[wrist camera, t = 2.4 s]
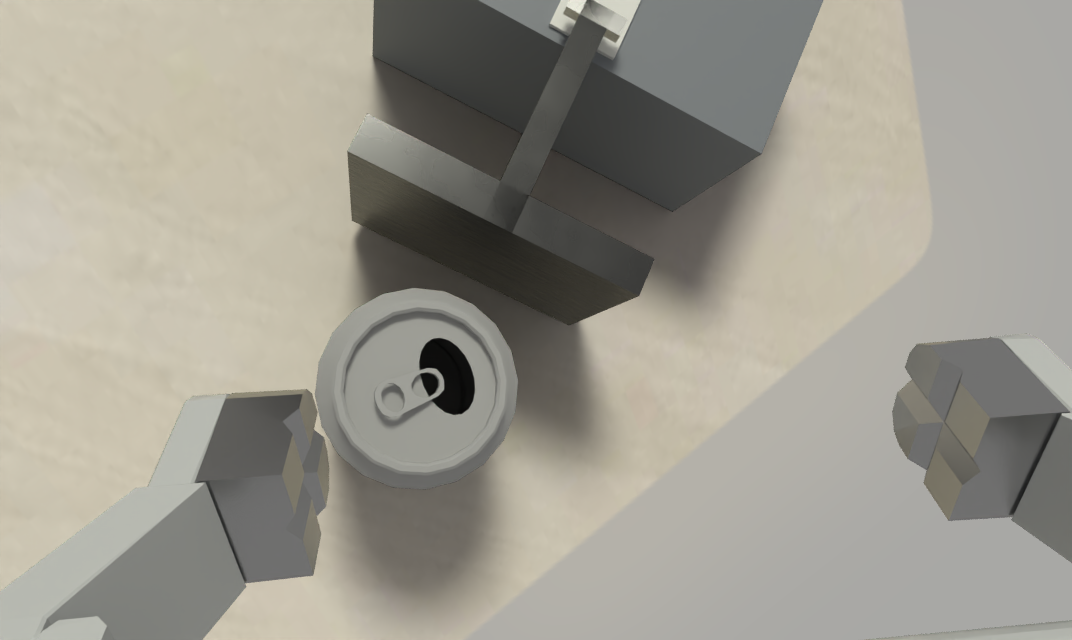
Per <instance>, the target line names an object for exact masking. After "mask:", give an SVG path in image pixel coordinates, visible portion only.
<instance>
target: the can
mask: <svg viewBox="0 0 1072 640" xmlns="http://www.w3.org/2000/svg"><path fill="white" fill-rule="evenodd" d="M517 388H518V378H517V374H516V369H515V365H514V361H513V356H512V352H511V350H510V348H509V346H508V344H507V343H506V341H505V339H504V338H503V336H502V334H501V333H500V331H499V329H498V327H497V326H496V324H495V323H494V322H492V321H491V320H490V319H489V318H488V317H487V316H486V315H485V314H483V313H482V312H481V311H480V310H479V309H478V308H477V307H476V306H475V305H473V304H472V303H469V302H467V301H465V300H463V299H461V298H458V297H456V296H454V295H452V294H449V293H447V292H445V291H437V290H428V289H419V288H410V289H405V290H400V291H395V292H390V293H385V294H382V295H380V296H378V297H376V298H374V299H373V300H371V301H369V302H367V303H365V304H364V305H362V306H360V307H358V308H356V309H355V310H354V311H353V312H352V313H351V314H350V315H349V316H348V317H347V318H346V319H345V320H344V321H343V322H342V323H341V324H340V326H339V327H338V328H337V329H336V330H335V331H334V332H333V333H332V335H331V337H330V339H329V342H328V344H327V346H326V348H325V350H324V352H323V354H322V357H321V359H320V361H319V365H318V374H317V382H316V391H315V397H316V401H317V406H318V411H319V416H320V420H321V425H322V428H323V429H324V431H325V433H326V434H327V436H328V438H329V439H330V441H331V443H332V444H333V446H334V448H335V450H336V451H337V453H338V454H339V455H340V456H341V457H342V458H343V459H344V460H346V461H347V462H348V463H349V464H350V465H351V466H353V467H354V468H355V469H356V470H357V471H358V472H360V473H361V474H362V475H363V476H366V477H368V478H371V479H373V480H376V481H378V482H381V483H383V484H386V485H388V486H391V487H393V488H409V489H429V488H433V487H437V486H441V485H445V484H449V483H453V482H456V481H458V480H460V479H461V478H463V477H464V476H466V475H467V474H469V473H471V472H472V471H474V470H475V469H477V468H479V467H480V466H482V465H483V464H484V463H485V462H486V461H487V460H488V458H489V457H490V456H491V455H492V454H493V452H494V451H495V450H496V449H497V448H498V446H499V445H500V444H501V443H502V442H503V440H504V438H505V436H506V433H507V431H508V428H509V426H510V424H511V421H512V419H513V416H514V414H515V411H516V400H517Z"/></svg>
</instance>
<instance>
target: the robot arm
mask: <svg viewBox="0 0 1072 640" xmlns="http://www.w3.org/2000/svg"><path fill="white" fill-rule="evenodd" d="M905 368H906V370H907V372H908V373H909V375H910V377H911V378H912V380H911V381H910V382H909V383H907V384H906V385H905V386H904V387H903V388H902V389H901V390H900V391H899V392H898V393H897V396H896V400H895V403H894V407H893V411H892V412H893V425H894V432H895V435H896V438H897V441H898V443H899V446H900V447H901V449H902V451H903V452H904V454H905V455H906V457H907V458H908V459H909V460H911V461H912V462H914V463H916V464H917V465H919V466H921V467H923V468H924V469H926V470H927V471H926V475H925V480H924V485H925V486H926V488H927V489H928V491H929V492H930V494H931V495H932V497H933V498H934V500H935V501H936V502H937V504H938V506H939V507H940V508H941V510H942V512H943V513H944V515H945V516H946V518H947V519H948V520H949V521H953V520H970V519H987V518H1004V517H1012V519H1011V520H1012V521H1013V522H1015V523H1016V524H1018V525H1019V526H1021V527H1022V528H1023V529H1025V530H1026V531H1028V532H1029V533H1030V534H1032V535H1033V536H1035V537H1036V538H1038V539H1039V540H1040V541H1042V542H1043V543H1045V544H1046V545H1047V546H1049V547H1050V548H1052V549H1053V550H1054V551H1056V552H1057V553H1059V554H1060V555H1062V556H1063V557H1064V558H1066V559H1067V560H1068V561H1070V562H1071V563H1072V370H1071V369H1070V368H1069V367H1068V366H1067V365H1066V364H1065V363H1064V362H1063V361H1062V360H1061V359H1060V358H1059V357H1058V356H1057V355H1056V354H1055V353H1054V352H1052V351H1051V350H1050V349H1049V348H1048V347H1047V346H1046V345H1045V344H1044V343H1043V342H1042V341H1041V340H1040V339H1039V338H1037V337H1035V336H1032V335H1030V334H1027V333H1025V334H1015V335H1005V336H994V337H990V338H983V339H972V340H958V341H947V342H933V343H921V344H917V345H916V346H915V347H914V348H913V349H912V351H911V352H910V354H909V357H908V360H907V363H906V366H905ZM316 417H317V409H316V406H315V402H314V399H313V395H312V393H311V392H310V391H308V390H307V389H302V390H283V391H264V392H245V393H232V394H217V395H201V396H192V397H191V398H190V399H188V400H187V401H186V402H185V403H184V405H183V407H182V410H181V412H180V414H179V416H178V419H177V421H176V423H175V425H174V428H173V430H172V432H171V434H170V437H169V439H168V441H167V444H166V446H165V448H164V450H163V453H162V455H161V457H160V459H159V462H158V464H157V466H156V468H155V471H154V473H153V475H152V477H151V480H150V482H149V484H148V486H147V487H142V488H135V489H134V490H132V491H131V492H130V493H128V494H127V495H126V496H124V497H123V498H122V499H120V500H119V501H118V502H117V503H115V504H114V505H113V506H111V507H110V508H109V509H107V510H106V511H105V512H103V513H102V514H101V515H100V516H98V517H97V518H96V519H94V520H93V521H92V522H90V523H89V524H88V525H86V526H85V527H84V528H83V529H81V530H80V531H79V532H77V533H76V534H75V535H73V536H72V537H71V538H69V539H68V540H67V541H66V542H64V543H63V544H62V545H60V546H59V547H58V548H56V549H55V550H54V551H52V552H51V553H50V554H49V555H47V556H46V557H45V558H43V559H42V560H41V561H39V562H38V563H37V564H35V565H34V566H33V567H32V568H30V569H29V570H28V571H26V572H25V573H24V574H22V575H21V576H20V577H18V578H17V579H16V580H14V581H13V582H12V583H11V584H9V585H8V586H7V587H5V588H4V589H3V590H1V591H0V640H202V639H203V638H204V637H205V636H206V635H207V633H208V632H209V631H210V630H211V629H212V627H213V626H214V625H215V624H216V623H217V621H218V620H219V619H220V618H221V617H222V615H223V614H224V613H225V612H226V611H227V609H228V608H229V607H230V606H231V605H232V603H233V602H234V601H235V600H236V598H237V597H238V596H239V595H240V594H241V592H242V591H243V590H244V589H245V588H246V585H245V583H251V582H260V581H269V580H278V579H287V578H295V577H304V576H313V574H314V569H315V564H316V558H317V553H318V548H319V542H320V537H321V531H320V527H319V524H318V520H317V515H318V514H319V513H320V512H321V511H322V510H323V509H324V508H325V507H326V504H327V498H328V492H329V462H328V454H327V448H326V444H325V440H324V437H323V436H321V435H320V434H319V433H317V432H316V431H315V430H314V427H315V422H316ZM866 640H1072V620H1070V621H1059V622H1048V623H1038V624H1026V625H1016V626H1005V627H995V628H984V629H973V630H963V631H953V632H941V633H930V634H920V635H909V636H898V637H888V638H877V639H866Z"/></svg>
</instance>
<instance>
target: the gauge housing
mask: <svg viewBox="0 0 1072 640" xmlns="http://www.w3.org/2000/svg"><path fill="white" fill-rule="evenodd" d="M594 1H596V2H597V3H599V4H601V5H603V6H605V7H606V8H608V9H610V10H612V11H614V12H615V13H617V14H619V15H621V16H623V17H624V18H626V19H628V20H627V22H626V25H625V27H624V29H623V31H622V33H621V35H620V37H619V39H618V40H617V42H616V43H615V42H613V41H611V40H609V39H607V38H605V37H604V36H603V38H602V40H601V43H600V45H599V47H598V49H597V51H596V53H595V55H594V58H593V60H592V62H591V64H590V66H589V68H588V70H587V73H586V75H585V77H584V79H583V81H582V83H581V86H580V88H579V90H578V92H577V94H576V96H575V98H574V101H573V103H572V105H571V107H570V109H569V111H568V114H567V116H566V118H565V120H564V122H563V124H562V126H561V129H560V131H559V133H558V135H557V137H556V139H555V142H554V144H553V146H552V148H551V149H553V150H555V151H557V152H559V153H561V154H563V155H565V156H566V157H568V158H570V159H572V160H574V161H576V162H578V163H580V164H582V165H584V166H586V167H588V168H590V169H592V170H593V171H595V172H597V173H599V174H601V175H603V176H605V177H607V178H609V179H611V180H613V181H615V182H617V183H618V184H620V185H622V186H624V187H626V188H628V189H630V190H632V191H634V192H636V193H638V194H640V195H642V196H644V197H645V198H647V199H649V200H651V201H653V202H655V203H657V204H659V205H661V206H663V207H665V208H667V209H669V210H670V211H672V212H673V211H674V210H676V209H677V208H679V207H680V206H682V205H683V204H685V203H686V202H688V201H690V200H691V199H693V198H694V197H696V196H697V195H699V194H700V193H702V192H703V191H705V190H706V189H708V188H710V187H711V186H713V185H714V184H716V183H717V182H719V181H720V180H722V179H723V178H725V177H726V176H728V175H730V174H731V173H733V172H734V171H736V170H737V169H739V168H740V167H742V166H743V165H745V164H746V163H748V162H750V161H751V160H753V159H754V158H756V157H757V156H759V155H760V154H762V151H763V149H764V146H765V144H766V141H767V139H768V136H769V134H770V131H771V129H772V127H773V124H774V122H775V119H776V117H777V114H778V112H779V109H780V107H781V104H782V102H783V99H784V97H785V94H786V92H787V89H788V87H789V84H790V82H791V79H792V77H793V74H794V72H795V69H796V67H797V65H798V62H799V60H800V57H801V55H802V52H803V50H804V47H805V45H806V42H807V40H808V37H809V35H810V32H811V30H812V27H813V25H814V22H815V20H816V17H817V15H818V12H819V10H820V7H821V5H822V2H823V0H594ZM568 2H569V0H374V17H373V56H374V57H376V58H378V59H380V60H381V61H383V62H385V63H387V64H389V65H391V66H393V67H395V68H397V69H399V70H401V71H403V72H405V73H407V74H408V75H410V76H412V77H414V78H416V79H418V80H420V81H422V82H424V83H426V84H428V85H430V86H432V87H434V88H435V89H437V90H439V91H441V92H443V93H445V94H447V95H449V96H451V97H453V98H455V99H457V100H459V101H460V102H462V103H464V104H466V105H468V106H470V107H472V108H474V109H476V110H478V111H480V112H482V113H484V114H486V115H487V116H489V117H491V118H493V119H495V120H497V121H499V122H501V123H503V124H505V125H507V126H509V127H511V128H513V129H514V130H516V131H518V132H520V133H522V134H523V132H524V129H525V127H526V125H527V123H528V121H529V119H530V117H531V115H532V113H533V110H534V108H535V106H536V104H537V102H538V100H539V98H540V96H541V94H542V92H543V89H544V87H545V85H546V83H547V81H548V79H549V77H550V75H551V73H552V70H553V68H554V66H555V64H556V62H557V60H558V58H559V56H560V54H561V51H562V49H563V47H564V45H565V43H566V41H567V39H568V37H569V35H570V33H571V30H572V28H573V26H574V24H575V22H576V21H574V20H573V19H571V18H569V17H567V16H565V15H564V14H563V12H564V10H565V8H566V6H567V4H568Z"/></svg>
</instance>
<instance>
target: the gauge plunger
mask: <svg viewBox="0 0 1072 640" xmlns="http://www.w3.org/2000/svg"><path fill="white" fill-rule="evenodd" d="M563 14H564V15H565V16H567V17H569V18H571V19H573V20H574V21H576V22H575V24H574V26H573V28H572V30H571V33H570V35H569V37H568V39H567V41H566V43H565V45H564V47H563V49H562V51H561V54H560V56H559V58H558V60H557V62H556V64H555V66H554V68H553V70H552V73H551V75H550V77H549V79H548V81H547V83H546V85H545V87H544V89H543V92H542V94H541V96H540V98H539V100H538V102H537V104H536V106H535V108H534V110H533V113H532V115H531V117H530V119H529V121H528V123H527V125H526V127H525V129H524V132H523V134H522V136H521V138H520V140H519V142H518V144H517V146H516V148H515V150H514V153H513V155H512V157H511V159H510V161H509V163H508V165H507V167H506V169H505V172H504V174H503V176H502V178H501V180H498V179H496V178H494V177H492V176H490V175H488V174H486V173H484V172H482V171H480V170H478V169H476V168H474V167H472V166H470V165H468V164H466V163H464V162H462V161H460V160H458V159H456V158H454V157H452V156H450V155H448V154H446V153H444V152H442V151H440V150H438V149H436V148H434V147H432V146H431V145H429V144H427V143H425V142H423V141H421V140H419V139H417V138H415V137H413V136H411V135H409V134H407V133H405V132H403V131H401V130H399V129H397V128H395V127H393V126H391V125H389V124H387V123H385V122H383V121H381V120H379V119H377V118H375V117H373V116H371V115H369V114H367V115H366V116H365V118H364V120H363V122H362V124H361V126H360V128H359V130H358V132H357V134H356V136H355V137H354V139H353V141H352V143H351V145H350V147H349V149H348V151H347V152H348V168H349V183H350V198H351V214H352V221H354V222H356V223H358V224H360V225H362V226H365V227H367V228H369V229H371V230H373V231H375V232H377V233H379V234H381V235H383V236H385V237H387V238H389V239H391V240H393V241H396V242H398V243H400V244H402V245H404V246H406V247H408V248H410V249H412V250H414V251H416V252H418V253H420V254H422V255H424V256H426V257H429V258H431V259H433V260H435V261H437V262H439V263H441V264H443V265H445V266H447V267H449V268H451V269H453V270H455V271H457V272H460V273H462V274H464V275H466V276H468V277H470V278H472V279H474V280H476V281H478V282H480V283H482V284H484V285H486V286H488V287H491V288H493V289H495V290H497V291H499V292H501V293H503V294H505V295H507V296H509V297H511V298H513V299H515V300H517V301H519V302H522V303H524V304H526V305H528V306H530V307H532V308H534V309H536V310H538V311H540V312H542V313H544V314H546V315H548V316H550V317H553V318H555V319H557V320H559V321H561V322H563V323H565V324H567V325H571V324H574V323H576V322H579V321H581V320H583V319H586V318H588V317H590V316H593V315H595V314H597V313H600V312H602V311H605V310H607V309H609V308H612V307H614V306H616V305H619V304H621V303H624V302H626V301H628V300H631V299H633V298H635V297H638V296H639V295H640V292H641V290H642V288H643V285H644V283H645V280H646V278H647V276H648V273H649V271H650V269H651V266H652V264H653V261H654V259H653V258H651V257H649V256H648V255H646V254H644V253H642V252H640V251H638V250H636V249H634V248H632V247H630V246H628V245H626V244H624V243H622V242H620V241H618V240H616V239H614V238H612V237H610V236H608V235H606V234H604V233H602V232H600V231H598V230H596V229H594V228H592V227H590V226H588V225H586V224H584V223H582V222H580V221H578V220H576V219H575V218H573V217H571V216H569V215H567V214H565V213H563V212H561V211H559V210H557V209H555V208H553V207H551V206H549V205H547V204H545V203H543V202H541V201H539V200H537V199H535V198H533V197H531V196H529V195H530V193H531V191H532V189H533V187H534V185H535V182H536V180H537V178H538V176H539V174H540V172H541V170H542V167H543V165H544V163H545V161H546V159H547V157H548V154H549V152H550V150H551V148H552V146H553V144H554V142H555V139H556V137H557V135H558V133H559V131H560V129H561V126H562V124H563V122H564V120H565V118H566V116H567V114H568V111H569V109H570V107H571V105H572V103H573V101H574V98H575V96H576V94H577V92H578V90H579V88H580V86H581V83H582V81H583V79H584V77H585V75H586V73H587V70H588V68H589V66H590V64H591V62H592V60H593V58H594V55H595V53H596V51H597V49H598V47H599V45H600V43H601V40H602V38H603V36H604V37H605V38H607V39H609V40H611V41H613V42H615V43H616V42H617V40H618V39H619V37H620V35H621V33H622V31H623V29H624V27H625V25H626V22H627V20H628V19H626V18H624V17H623V16H621V15H619V14H617V13H615V12H614V11H612V10H610V9H608V8H606V7H605V6H603V5H601V4H599V3H597V2H596V1H594V0H569V2H568V4H567V6H566V8H565V10H564V12H563Z"/></svg>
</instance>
